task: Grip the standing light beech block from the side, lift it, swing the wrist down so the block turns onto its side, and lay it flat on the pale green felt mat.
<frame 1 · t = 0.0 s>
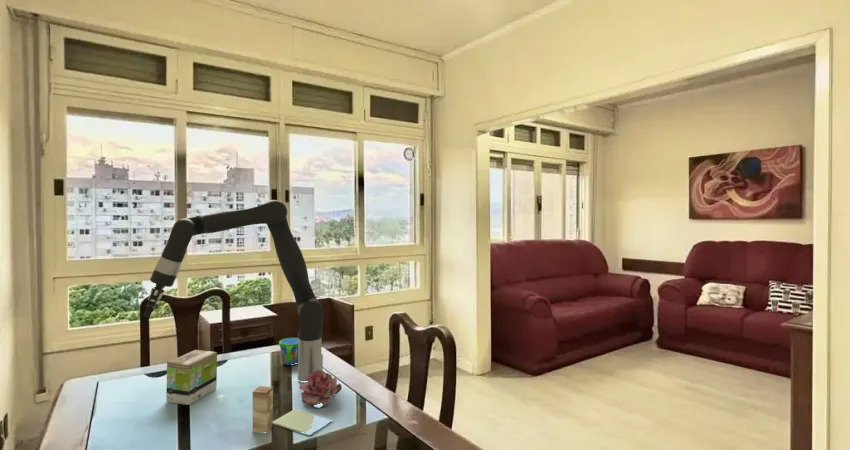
hand: (147, 314, 163), 31 cm above the table, tool tilted 20°, fingers open, 8 cm apart
snack cup: (291, 363, 205), on the table
tea box: (192, 395, 170), on the table
felt mat: (302, 422, 151), on the table
beech block: (262, 429, 146), on the table
flower: (319, 400, 168), on the table
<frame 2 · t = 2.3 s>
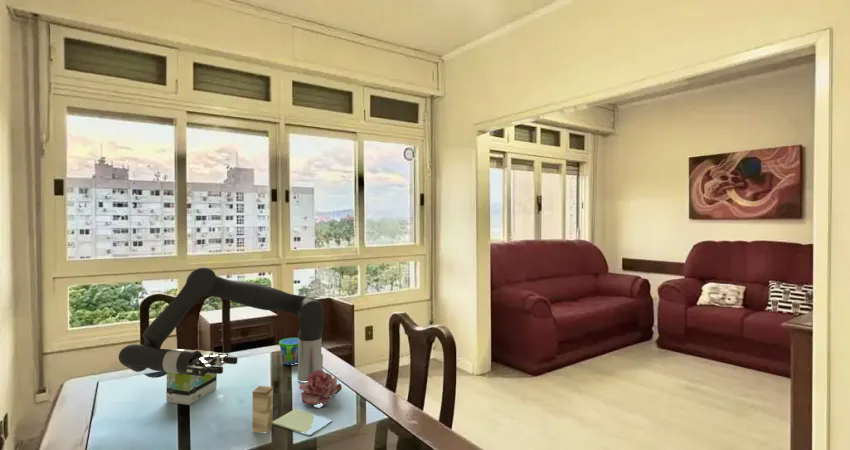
hand: (229, 365, 147), 20 cm above the table, tool horizontal, fingers open, 8 cm apart
nothing on the table moved.
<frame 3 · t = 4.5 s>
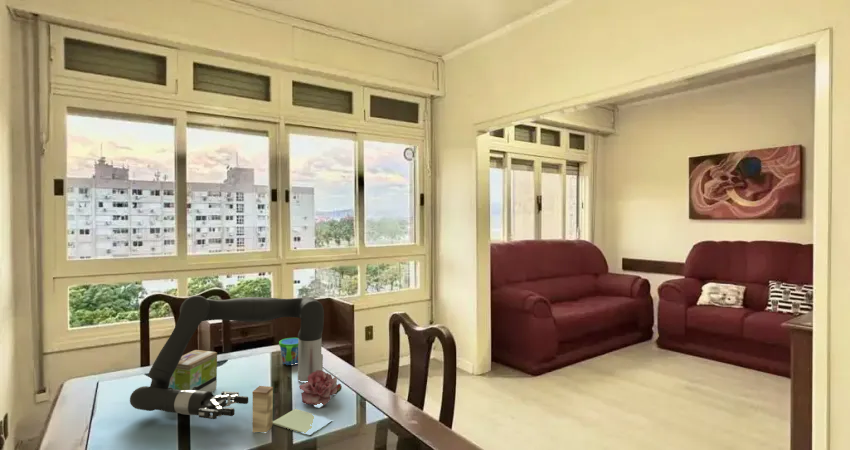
hand: (241, 406, 147), 7 cm above the table, tool horizontal, fingers open, 8 cm apart
nothing on the table moved.
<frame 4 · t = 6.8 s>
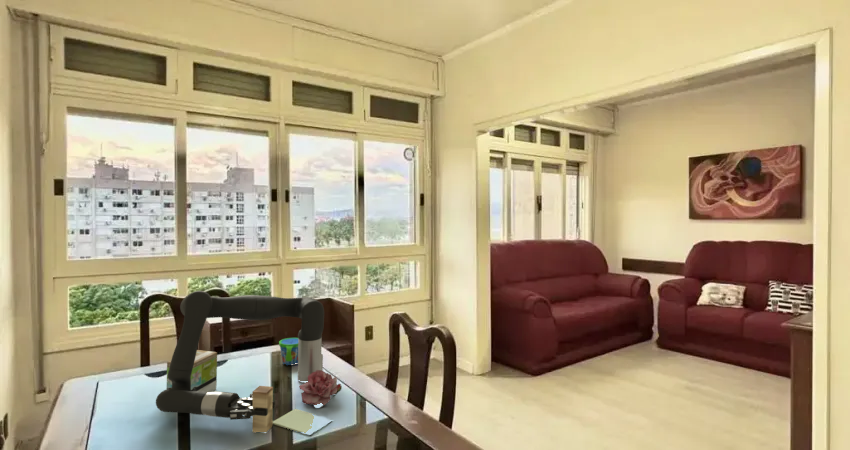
hand: (270, 408, 146), 7 cm above the table, tool horizontal, fingers closed on beech block, 4 cm apart
beech block: (262, 429, 146), on the table, touching gripper
everything else where it was.
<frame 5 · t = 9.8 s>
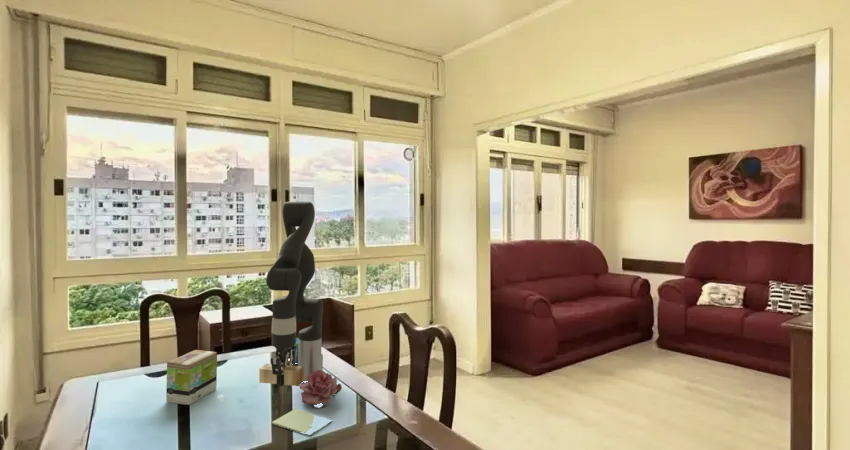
hand: (283, 382, 148), 15 cm above the table, tool pointing down, fingers closed on beech block, 4 cm apart
beech block: (262, 372, 148), point 17 cm above the table, tilted 90°, touching gripper
everything else where it was.
when the fingers open (2 cm above the table, at t = 12.3 s): beech block drops 1 cm, resting on felt mat.
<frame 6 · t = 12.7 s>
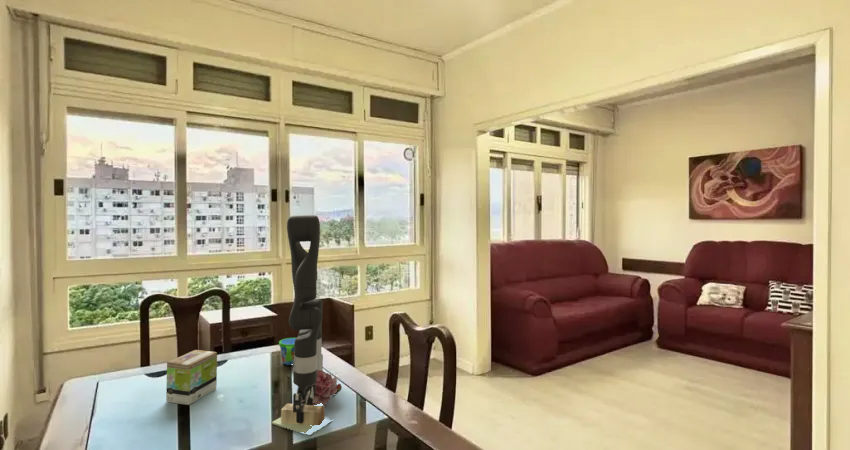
hand: (304, 416, 151), 2 cm above the table, tool pointing down, fingers open, 7 cm apart
beech block: (284, 413, 152), point 3 cm above the table, tilted 90°, touching felt mat
everything else where it was.
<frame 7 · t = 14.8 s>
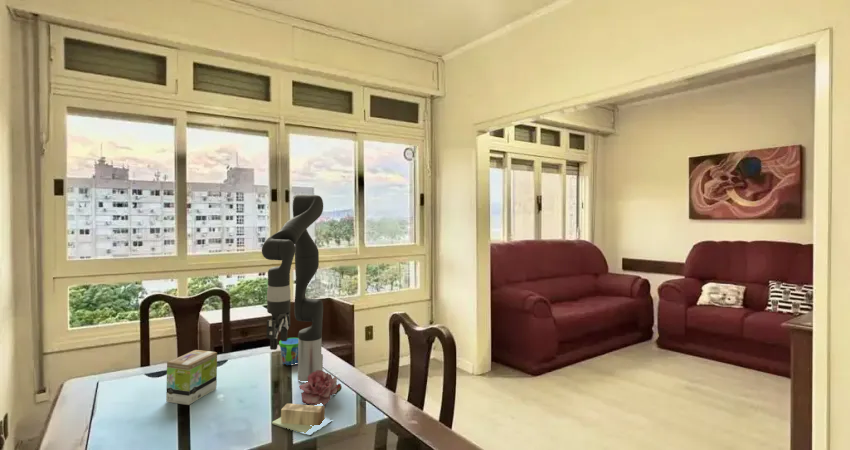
hand: (279, 344, 156), 24 cm above the table, tool pointing down, fingers open, 8 cm apart
nothing on the table moved.
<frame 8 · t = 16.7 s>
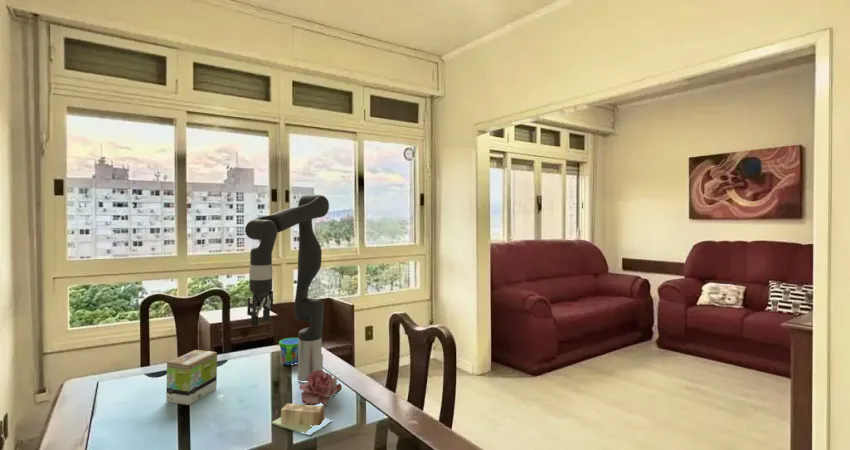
hand: (260, 323, 159), 30 cm above the table, tool pointing down, fingers open, 8 cm apart
nothing on the table moved.
at the end: beech block tilted 90°; beech block inside the target area (3.9 cm from its centre), point 2.8 cm above the table; the gripper is holding nothing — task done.
